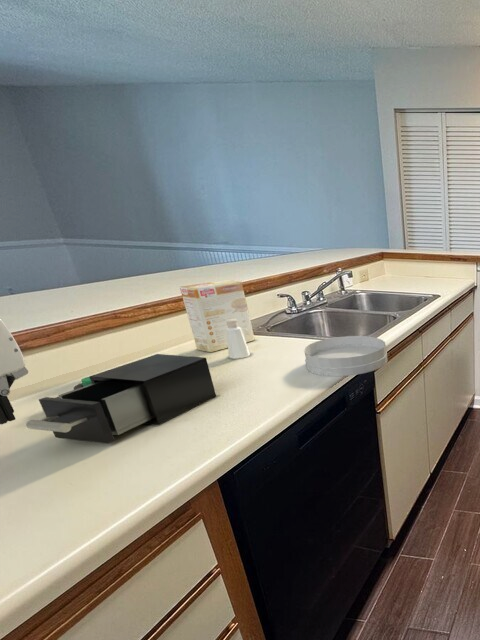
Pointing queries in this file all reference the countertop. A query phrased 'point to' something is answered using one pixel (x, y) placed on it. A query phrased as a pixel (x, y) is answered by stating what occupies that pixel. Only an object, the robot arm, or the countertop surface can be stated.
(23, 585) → the countertop surface
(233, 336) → the salt shaker
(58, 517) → the countertop surface
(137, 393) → the drawer
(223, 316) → the coffeecake box
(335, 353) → the dish
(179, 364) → the cabinet
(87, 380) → the button
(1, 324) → the robot arm
